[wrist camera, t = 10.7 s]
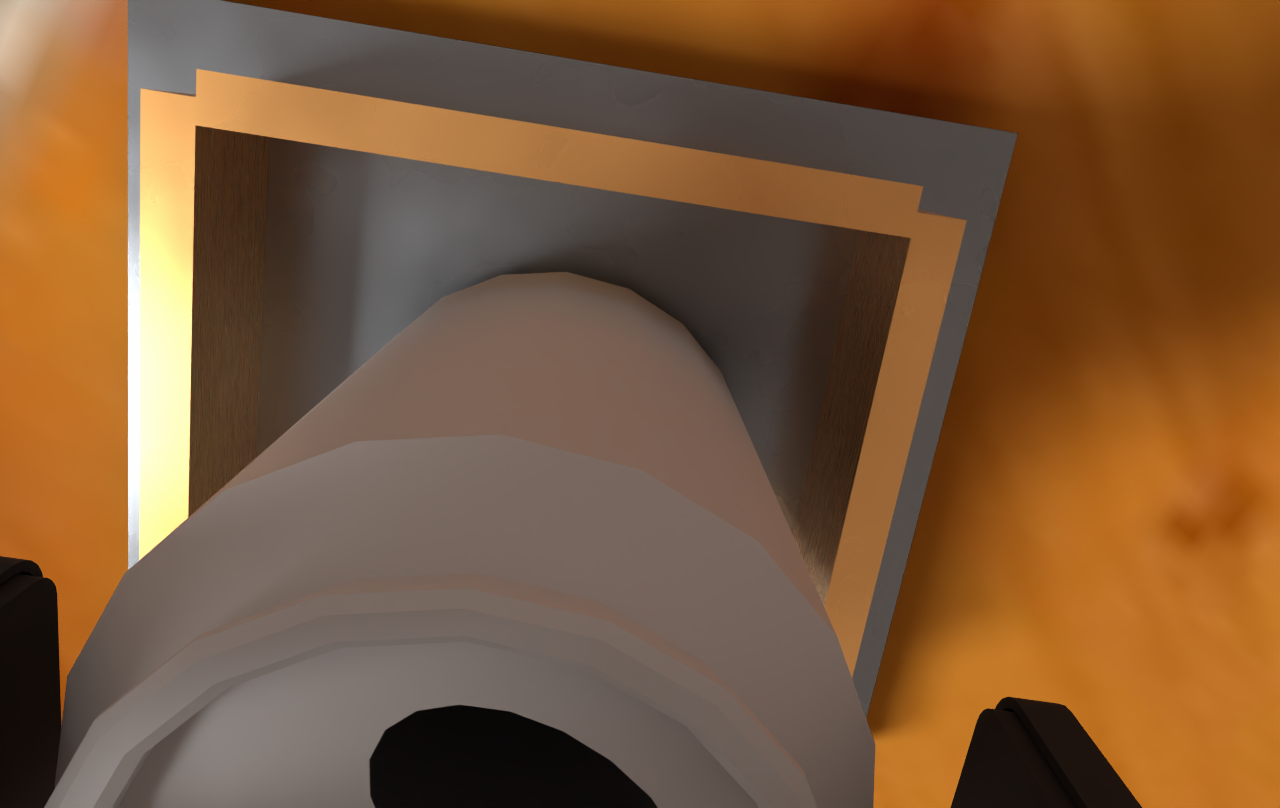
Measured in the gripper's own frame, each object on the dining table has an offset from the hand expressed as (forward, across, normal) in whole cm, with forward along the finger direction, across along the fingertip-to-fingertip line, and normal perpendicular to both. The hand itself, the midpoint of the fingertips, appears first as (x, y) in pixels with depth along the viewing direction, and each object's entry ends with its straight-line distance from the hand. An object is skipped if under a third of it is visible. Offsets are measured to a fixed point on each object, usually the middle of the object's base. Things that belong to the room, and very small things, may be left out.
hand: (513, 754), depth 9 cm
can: (+10, 0, 0) cm, 10 cm away
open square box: (+11, +1, 0) cm, 11 cm away
